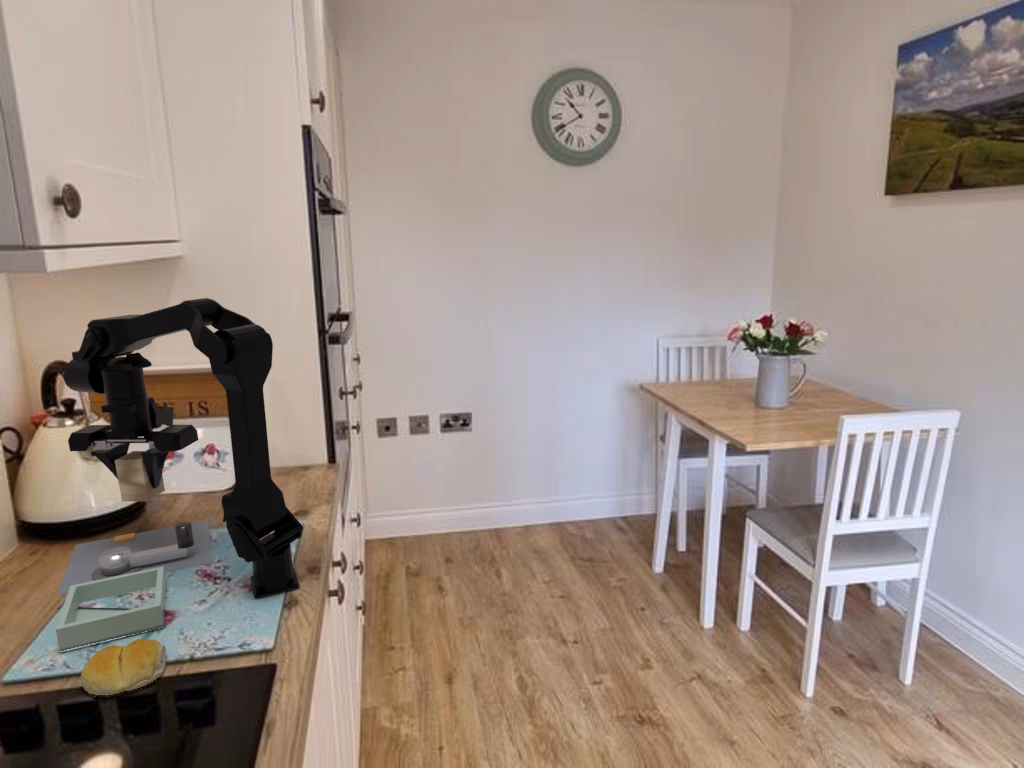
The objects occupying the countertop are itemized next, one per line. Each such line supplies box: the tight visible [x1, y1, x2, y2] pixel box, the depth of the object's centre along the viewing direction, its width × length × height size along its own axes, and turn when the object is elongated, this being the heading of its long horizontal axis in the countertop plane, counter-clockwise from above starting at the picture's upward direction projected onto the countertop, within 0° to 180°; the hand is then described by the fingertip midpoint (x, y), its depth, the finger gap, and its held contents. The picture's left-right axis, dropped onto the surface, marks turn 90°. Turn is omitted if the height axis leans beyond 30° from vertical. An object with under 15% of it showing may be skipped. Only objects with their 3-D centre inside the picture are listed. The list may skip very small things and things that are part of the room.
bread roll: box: [80, 638, 167, 696], centre depth 80 cm, size 8×9×4 cm
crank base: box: [56, 519, 213, 597], centre depth 109 cm, size 18×21×1 cm
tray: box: [55, 566, 167, 652], centre depth 92 cm, size 12×12×4 cm
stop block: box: [115, 450, 166, 502], centre depth 107 cm, size 4×4×7 cm
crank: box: [98, 521, 194, 575], centre depth 105 cm, size 13×4×5 cm, turn 116°
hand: (142, 487), depth 108 cm, fingers closed on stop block, 4 cm apart
